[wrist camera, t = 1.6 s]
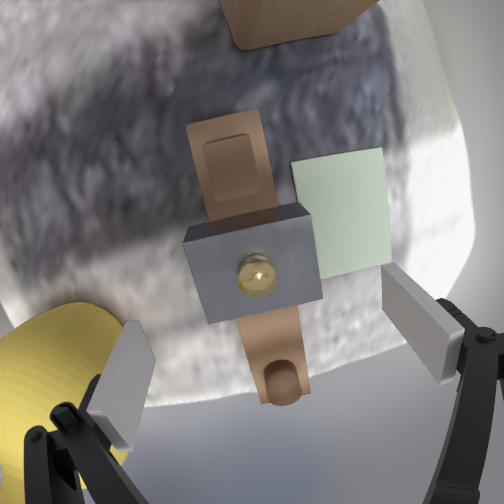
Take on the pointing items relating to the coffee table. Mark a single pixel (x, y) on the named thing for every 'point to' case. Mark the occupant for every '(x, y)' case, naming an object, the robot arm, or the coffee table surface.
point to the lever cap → (254, 262)
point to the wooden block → (287, 19)
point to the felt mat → (346, 209)
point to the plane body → (241, 202)
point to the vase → (48, 378)
